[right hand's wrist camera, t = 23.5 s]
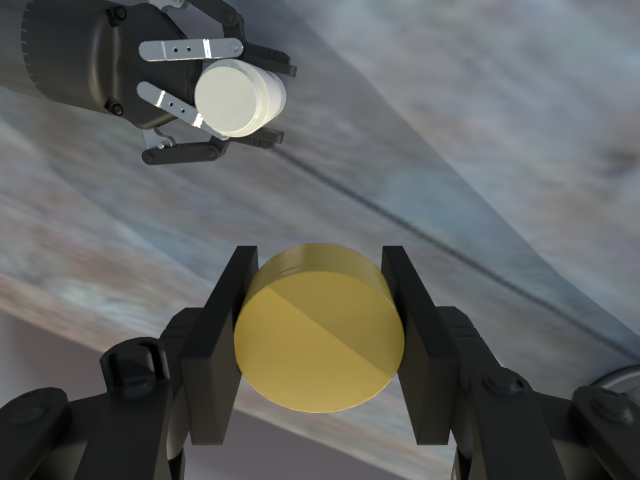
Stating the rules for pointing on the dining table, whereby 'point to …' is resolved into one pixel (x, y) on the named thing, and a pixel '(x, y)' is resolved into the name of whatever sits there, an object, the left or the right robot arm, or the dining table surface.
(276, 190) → the dining table surface
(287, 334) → the lid
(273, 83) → the white cylinder
